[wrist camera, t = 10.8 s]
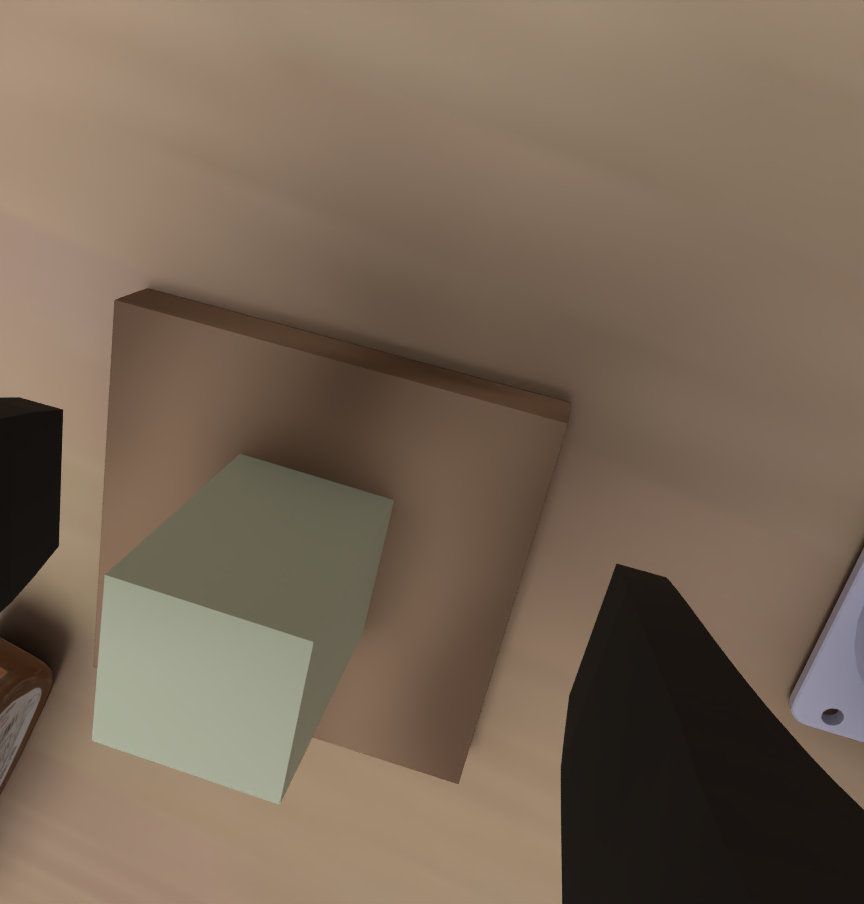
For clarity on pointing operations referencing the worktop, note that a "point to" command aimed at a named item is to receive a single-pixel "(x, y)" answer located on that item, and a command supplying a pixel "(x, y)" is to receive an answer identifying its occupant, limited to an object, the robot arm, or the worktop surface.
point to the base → (355, 465)
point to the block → (237, 624)
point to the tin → (19, 701)
